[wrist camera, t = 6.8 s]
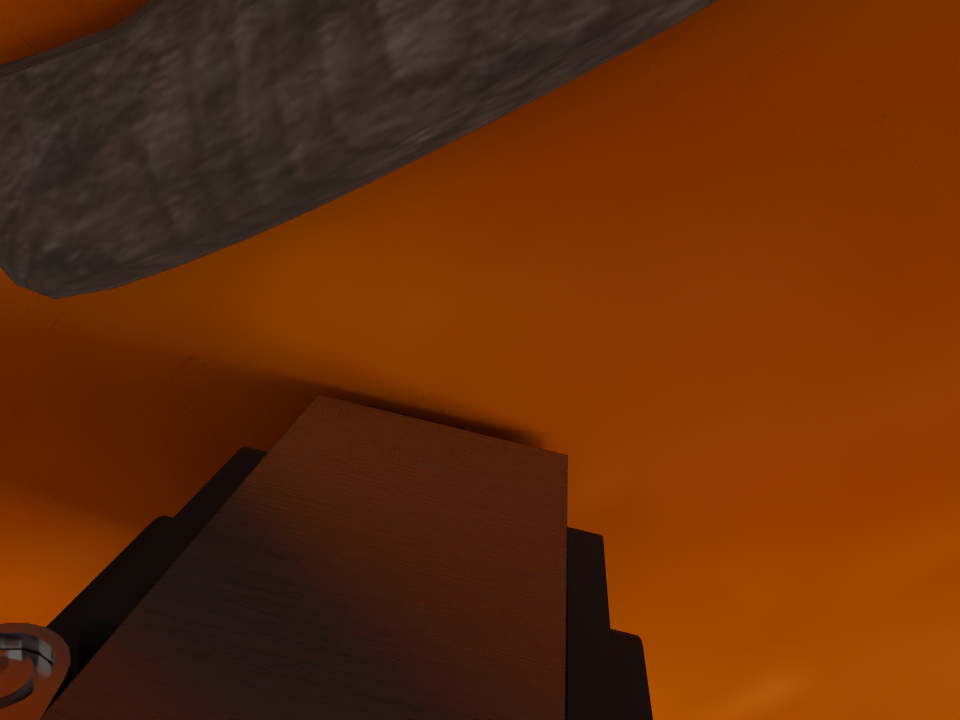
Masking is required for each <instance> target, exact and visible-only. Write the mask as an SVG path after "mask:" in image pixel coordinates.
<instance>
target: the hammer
mask: <svg viewBox="0 0 960 720" xmlns="http://www.w3.org/2000/svg"><path fill="white" fill-rule="evenodd" d="M567 470H568V455H564V454H560V453H556V452H552V451H548V450H544V449H540V448H536V447H532V446H528V445H523V444H519V443H515V442H511V441H507V440H503V439H499V438H495V437H491V436H487V435H483V434H478V433H474V432H470V431H466V430H462V429H458V428H454V427H450V426H446V425H442V424H437V423H433V422H429V421H425V420H421V419H417V418H413V417H409V416H405V415H401V414H397V413H392V412H388V411H384V410H380V409H376V408H372V407H368V406H364V405H360V404H356V403H351V402H347V401H343V400H339V399H335V398H331V397H327V396H323V395H319V394H318V395H317V396H316V398H315V399H314V400H313V401H312V402H311V403H310V405H309V406H308V407H307V408H306V409H305V410H304V412H303V413H302V414H301V415H300V416H299V417H298V419H297V420H296V421H295V422H294V423H293V424H292V426H291V427H290V428H289V429H288V430H287V431H286V433H285V434H284V435H283V436H282V437H281V438H280V440H279V441H278V442H277V443H276V444H275V445H274V447H273V448H272V449H271V450H270V451H269V452H268V454H267V455H266V456H265V457H264V458H263V459H262V461H261V462H260V463H259V464H258V465H257V466H256V468H255V469H254V470H253V471H252V472H251V473H250V475H249V476H248V477H247V478H246V479H245V480H244V482H243V483H242V484H241V485H240V486H239V487H238V489H237V490H236V491H235V492H234V493H233V494H232V496H231V497H230V498H229V499H228V500H227V501H226V503H225V504H224V505H223V506H222V507H221V508H220V510H219V511H218V512H217V513H216V514H215V515H214V517H213V518H212V519H211V520H210V521H209V522H208V524H207V525H206V526H205V527H204V528H203V529H202V531H201V532H200V533H199V534H198V535H197V536H196V538H195V539H194V540H193V541H192V542H191V543H190V545H189V546H188V547H187V548H186V549H185V550H184V552H183V553H182V554H181V555H180V556H179V557H178V559H177V560H176V561H175V562H174V563H173V564H172V566H171V567H170V568H169V569H168V570H167V571H166V573H165V574H164V575H163V576H162V577H161V578H160V580H159V581H158V582H157V583H156V584H155V585H154V587H153V588H152V589H151V590H150V591H149V592H148V594H147V595H146V596H145V597H144V598H143V599H142V601H141V602H140V603H139V604H138V605H137V606H136V608H135V609H134V610H133V611H132V612H131V613H130V615H129V616H128V617H127V618H126V619H125V620H124V622H123V623H122V624H121V625H120V626H119V627H118V629H117V630H116V631H115V632H114V633H113V634H112V636H111V637H110V638H109V639H108V640H107V641H106V643H105V644H104V645H103V646H102V647H101V648H100V650H99V651H98V652H97V653H96V654H95V655H94V657H93V658H92V659H91V660H90V661H89V662H88V664H87V665H86V666H85V667H84V668H83V669H82V671H81V672H80V673H79V674H78V675H77V676H76V678H75V679H74V680H73V681H72V682H71V683H70V685H69V686H68V687H67V688H66V689H65V690H64V692H63V693H62V694H61V695H60V696H59V697H58V699H57V700H56V701H55V702H54V703H53V704H52V706H51V707H50V708H49V709H48V710H47V711H46V713H45V714H44V715H43V716H42V717H41V718H40V720H565V669H566V569H567Z"/></svg>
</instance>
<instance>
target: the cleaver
mask: <svg viewBox="0 0 960 720" xmlns="http://www.w3.org/2000/svg"><path fill="white" fill-rule="evenodd" d="M716 1H718V0H151V1H150V2H148V3H147V4H146V5H144V6H143V7H141V8H140V9H138V10H137V11H135V12H134V13H133V14H131V15H130V16H128V17H127V18H125V19H124V20H123V21H121V22H120V23H118V24H117V25H115V26H112V27H109V28H107V29H104V30H101V31H99V32H96V33H93V34H90V35H88V36H85V37H82V38H80V39H77V40H74V41H71V42H69V43H66V44H63V45H61V46H58V47H55V48H52V49H50V50H47V51H44V52H42V53H39V54H36V55H33V56H29V57H26V58H23V59H19V60H16V61H13V62H9V63H6V64H3V65H0V267H1V268H2V269H3V270H4V272H5V273H6V274H7V275H8V276H9V277H10V278H11V280H12V281H13V282H14V283H15V284H16V285H18V286H21V287H23V288H26V289H29V290H31V291H34V292H37V293H39V294H42V295H45V296H47V297H50V298H53V299H57V298H62V297H68V296H74V295H79V294H85V293H91V292H96V291H102V290H107V289H113V288H116V287H119V286H122V285H125V284H128V283H131V282H134V281H137V280H140V279H143V278H146V277H148V276H151V275H154V274H157V273H160V272H163V271H166V270H169V269H172V268H175V267H177V266H180V265H182V264H185V263H188V262H190V261H193V260H195V259H198V258H200V257H203V256H205V255H208V254H210V253H213V252H215V251H218V250H220V249H223V248H225V247H228V246H230V245H233V244H235V243H238V242H240V241H243V240H245V239H248V238H250V237H252V236H255V235H257V234H259V233H261V232H264V231H266V230H268V229H270V228H273V227H275V226H277V225H279V224H282V223H284V222H286V221H288V220H291V219H293V218H295V217H297V216H300V215H302V214H304V213H306V212H309V211H311V210H313V209H315V208H318V207H320V206H322V205H324V204H326V203H328V202H330V201H332V200H334V199H337V198H339V197H341V196H343V195H345V194H347V193H349V192H351V191H353V190H355V189H357V188H359V187H362V186H364V185H366V184H368V183H370V182H372V181H374V180H376V179H378V178H380V177H382V176H384V175H386V174H388V173H390V172H392V171H394V170H397V169H399V168H401V167H403V166H405V165H407V164H409V163H411V162H413V161H415V160H417V159H419V158H421V157H423V156H425V155H427V154H429V153H431V152H433V151H435V150H437V149H439V148H441V147H443V146H445V145H447V144H449V143H451V142H453V141H455V140H457V139H459V138H461V137H463V136H465V135H467V134H469V133H471V132H473V131H475V130H477V129H479V128H481V127H483V126H485V125H487V124H489V123H491V122H493V121H495V120H497V119H499V118H501V117H503V116H505V115H506V114H508V113H510V112H512V111H514V110H516V109H518V108H520V107H522V106H524V105H526V104H528V103H530V102H532V101H533V100H535V99H537V98H539V97H541V96H543V95H545V94H547V93H549V92H551V91H553V90H554V89H556V88H558V87H560V86H562V85H564V84H566V83H568V82H570V81H571V80H573V79H575V78H577V77H579V76H581V75H583V74H585V73H587V72H588V71H590V70H592V69H594V68H596V67H598V66H600V65H602V64H604V63H605V62H607V61H609V60H611V59H613V58H615V57H617V56H618V55H620V54H622V53H624V52H626V51H628V50H630V49H631V48H633V47H635V46H637V45H639V44H641V43H643V42H644V41H646V40H648V39H650V38H652V37H654V36H656V35H657V34H659V33H661V32H663V31H665V30H667V29H669V28H670V27H672V26H674V25H676V24H677V23H679V22H681V21H683V20H684V19H686V18H688V17H690V16H691V15H693V14H695V13H697V12H698V11H700V10H702V9H704V8H706V7H707V6H709V5H711V4H713V3H714V2H716Z"/></svg>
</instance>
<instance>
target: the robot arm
mask: <svg viewBox="0 0 960 720" xmlns="http://www.w3.org/2000/svg"><path fill="white" fill-rule="evenodd" d="M267 454H268V452H264V451H260V450H256V449H252V448H248V447H242V448H241V449H239V451H238V452H237V453H236V454H235V455H234V456H233V457H232V458H231V459H230V460H229V461H228V462H227V463H226V464H225V465H224V466H223V467H222V468H221V469H220V470H219V471H218V472H217V473H216V474H215V475H214V476H213V477H212V478H211V480H210V481H209V482H208V483H207V484H206V485H205V486H204V487H203V488H202V489H201V490H200V491H199V492H198V493H197V494H196V495H195V496H194V497H193V498H192V499H191V500H190V501H189V502H188V503H187V504H186V505H185V506H184V507H183V508H182V510H181V511H180V512H179V513H178V514H177V515H176V516H175V517H174V518H172V517H168V516H161V517H158V518H157V519H155V520H154V521H153V522H151V523H150V524H149V525H148V526H147V527H146V528H145V529H144V530H143V531H142V532H141V533H140V534H139V535H138V536H137V537H136V538H135V539H134V540H133V541H132V542H131V543H130V544H129V545H128V546H127V547H126V548H125V549H124V550H123V551H122V552H121V553H120V554H119V555H118V556H117V557H116V558H115V559H114V560H113V561H112V562H111V563H110V564H109V565H108V566H107V567H106V568H105V569H104V570H103V571H102V572H101V573H100V574H99V575H98V576H97V577H96V578H95V579H94V580H93V581H92V582H91V583H90V584H89V585H88V586H87V587H86V588H85V589H84V590H83V591H82V592H81V593H80V594H79V595H78V596H77V597H76V598H75V599H74V600H73V601H72V602H71V603H70V604H69V605H68V606H67V607H66V608H65V609H64V610H63V611H62V612H61V613H60V614H59V615H58V616H57V617H56V618H55V619H54V620H53V621H52V622H51V623H50V624H49V625H48V626H47V627H42V626H37V625H33V624H29V623H4V624H0V720H40V718H41V717H42V716H43V715H44V714H45V713H46V711H47V710H48V709H49V708H50V707H51V706H52V704H53V703H54V702H55V701H56V700H57V699H58V697H59V696H60V695H61V694H62V693H63V692H64V690H65V689H66V688H67V687H68V686H69V685H70V683H71V682H72V681H73V680H74V679H75V678H76V676H77V675H78V674H79V673H80V672H81V671H82V669H83V668H84V667H85V666H86V665H87V664H88V662H89V661H90V660H91V659H92V658H93V657H94V655H95V654H96V653H97V652H98V651H99V650H100V648H101V647H102V646H103V645H104V644H105V643H106V641H107V640H108V639H109V638H110V637H111V636H112V634H113V633H114V632H115V631H116V630H117V629H118V627H119V626H120V625H121V624H122V623H123V622H124V620H125V619H126V618H127V617H128V616H129V615H130V613H131V612H132V611H133V610H134V609H135V608H136V606H137V605H138V604H139V603H140V602H141V601H142V599H143V598H144V597H145V596H146V595H147V594H148V592H149V591H150V590H151V589H152V588H153V587H154V585H155V584H156V583H157V582H158V581H159V580H160V578H161V577H162V576H163V575H164V574H165V573H166V571H167V570H168V569H169V568H170V567H171V566H172V564H173V563H174V562H175V561H176V560H177V559H178V557H179V556H180V555H181V554H182V553H183V552H184V550H185V549H186V548H187V547H188V546H189V545H190V543H191V542H192V541H193V540H194V539H195V538H196V536H197V535H198V534H199V533H200V532H201V531H202V529H203V528H204V527H205V526H206V525H207V524H208V522H209V521H210V520H211V519H212V518H213V517H214V515H215V514H216V513H217V512H218V511H219V510H220V508H221V507H222V506H223V505H224V504H225V503H226V501H227V500H228V499H229V498H230V497H231V496H232V494H233V493H234V492H235V491H236V490H237V489H238V487H239V486H240V485H241V484H242V483H243V482H244V480H245V479H246V478H247V477H248V476H249V475H250V473H251V472H252V471H253V470H254V469H255V468H256V466H257V465H258V464H259V463H260V462H261V461H262V459H263V458H264V457H265V456H266V455H267ZM565 720H653V717H652V710H651V702H650V695H649V688H648V680H647V673H646V666H645V659H644V651H643V645H642V641H641V639H640V637H639V636H637V635H633V634H629V633H625V632H621V631H617V630H613V629H610V620H609V608H608V595H607V582H606V569H605V557H604V544H603V537H602V536H601V535H598V534H594V533H590V532H586V531H582V530H578V529H574V528H570V527H567V569H566V669H565Z"/></svg>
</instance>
